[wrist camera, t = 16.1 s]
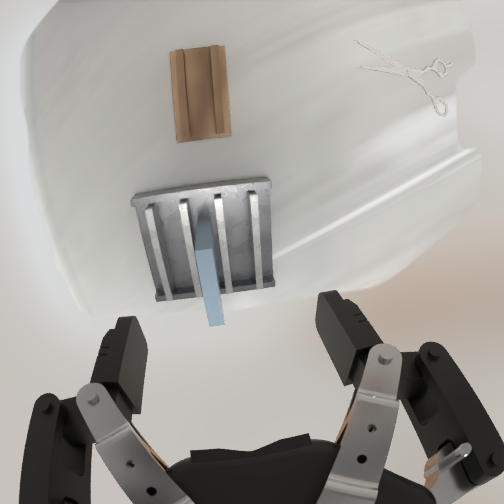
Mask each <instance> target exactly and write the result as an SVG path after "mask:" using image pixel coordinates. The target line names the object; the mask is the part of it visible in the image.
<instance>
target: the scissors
mask: <svg viewBox="0 0 504 504" xmlns="http://www.w3.org/2000/svg"><path fill="white" fill-rule="evenodd" d="M356 42H358V41H356ZM358 43H360V42H358ZM360 44H361V45H363V46H364V47H366V48H368V49H369V50H371V51H372V52H374V53H375V54H377V55H378V56H380V57H382V58H383V59H385V60H386V61H387V62H389V63H390V64H391V65H393V66H395V67H383V66H367V67H360V68H366V69H372V70H377V71H382V72H387V73H392V74H398V75H403V76H408V77H410V78H411V79H412V80H414V81H415V82H417V83H418V84H419V85H420V86H422V87H423V88H424V90H425V92H426V95H428V96H430V97H431V99H432V102H433V105H434V108H435V110H436V112H437V113H438V114H439V115H440V116H442V117H445V116H446V115H447V114H448V107H447V104H446V102H445V101H444V99H443V98H441V97H440V96H439V97H436V98H435V97H434V96H432V95H431V94H430V93H429V91H428V90H427V88H426V87H425V85H424V83H423V81H422V80H421V78H420V77H419V76H420V75H422V74H423V73H425V72H426V71H427V70H433V71H435V72H436V73H437V74H438V76H439V77H444V76H446V75H447V72H448V68H449V67H453V63H450V64H447V65H446V64H445V62H444V61H442V60H441V59H435V60H434V62H433V65H432V66H431V67H428V66H426V67H425V69H424V70H418V69H412V68H407V67H405V66H404V65H402V64H401V63H399V62H398V61H396V60H394V59H393V58H391V57H389V56H387V55H385V54H383V53H381V52H379V51H377V50H375V49H373V48H371V47H369V46H367V45H365V44H363V43H360ZM437 62H440V63H442V64H443V65H444V68H445V72H444V73H443V74H442V73H440V72H439V71H438V70H437V68H436V63H437ZM438 100H439V101H441V102H442V103H443V104H444V105H445V113H444V114H441V113H439V111H438V109H437V107H436V102H437V101H438Z"/></svg>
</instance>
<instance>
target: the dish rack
mask: <svg viewBox="0 0 504 504" xmlns="http://www.w3.org/2000/svg"><path fill="white" fill-rule="evenodd" d="M269 188H272V181H271V180H270V179H269V178H267V177H261V178H250V179H240V180H231V181H222V182H214V183H206V184H198V185H191V186H184V187H177V188H171V189H164V190H158V191H152V192H146V193H141V194H135V196H134V197H133V198H132V199H131V200H130V201H131V206H132V207H133V206H136V211H137V216H138V220H139V225H140V229H141V234H142V238H143V242H144V246H145V250H146V254H147V258H148V262H149V266H150V269H151V273H152V277H153V280H154V284H155V287H156V295H155V299H156V302H159V301H171V300H177V299H185V298H194V297H196V298H197V297H203V293H202V288H201V282H200V277H199V272H198V267H197V261H196V256H195V240H196V227H197V217H204V216H211V222H212V229H213V237H214V244H215V251H216V258H217V265H218V272H219V279H220V288H221V294H225V293H227V294H228V293H233V292H240V291H247V290H254V289H263V288H268V287H275V280H274V277H273V268H272V241H271V217H270V195H269Z"/></svg>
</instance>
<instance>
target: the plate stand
mask: <svg viewBox="0 0 504 504" xmlns="http://www.w3.org/2000/svg"><path fill="white" fill-rule="evenodd" d="M170 63H171V79H172V92H173V104H174V115H175V125H176V135H177V143H179V142H186V141H193V140H201V139H209V138H218V137H227V136H231V127H230V115H229V102H228V89H227V75H226V62H225V48H224V46H218V45H213V46H210V47H202V48H193V49H186V50H183V49H180V50H175V51H173V52H170Z"/></svg>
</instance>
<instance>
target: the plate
mask: <svg viewBox="0 0 504 504" xmlns="http://www.w3.org/2000/svg"><path fill="white" fill-rule="evenodd" d="M195 256H196V261H197V267H198V272H199V277H200V282H201V288H202V293H203V298H204V302H205V307H206V312H207V317H208V321H209V326H218V325H224V316H223V307H222V297H221V288H220V279H219V272H218V265H217V258H216V251H215V244H214V237H213V229H212V222H211V216H204V217H197V227H196V240H195Z"/></svg>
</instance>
